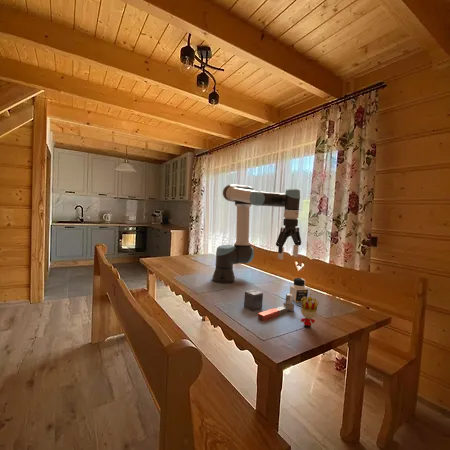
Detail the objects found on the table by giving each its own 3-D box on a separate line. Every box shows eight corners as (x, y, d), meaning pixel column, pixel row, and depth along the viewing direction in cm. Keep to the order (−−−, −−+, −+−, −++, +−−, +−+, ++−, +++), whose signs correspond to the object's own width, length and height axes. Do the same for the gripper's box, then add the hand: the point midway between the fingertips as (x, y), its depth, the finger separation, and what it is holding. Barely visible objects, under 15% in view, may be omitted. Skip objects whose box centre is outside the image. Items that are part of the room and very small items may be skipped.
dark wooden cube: (243, 306, 130) (244, 291, 130) (252, 304, 134) (253, 289, 134) (253, 311, 125) (254, 295, 125) (261, 308, 130) (263, 292, 129)
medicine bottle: (295, 302, 140) (297, 280, 139) (289, 297, 147) (290, 277, 146) (307, 301, 142) (309, 280, 141) (300, 297, 149) (301, 276, 148)
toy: (312, 323, 115) (315, 290, 114) (319, 331, 108) (322, 296, 107) (296, 322, 115) (299, 290, 114) (302, 330, 108) (305, 295, 107)
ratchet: (287, 307, 133) (288, 292, 132) (295, 310, 129) (297, 295, 128) (256, 318, 118) (257, 301, 117) (264, 322, 114) (266, 304, 113)
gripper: (282, 219, 126) (279, 261, 128) (309, 219, 143) (306, 257, 144) (270, 217, 131) (267, 258, 133) (297, 218, 148) (295, 254, 150)
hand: (288, 258), depth 139 cm, fingers open, 13 cm apart
